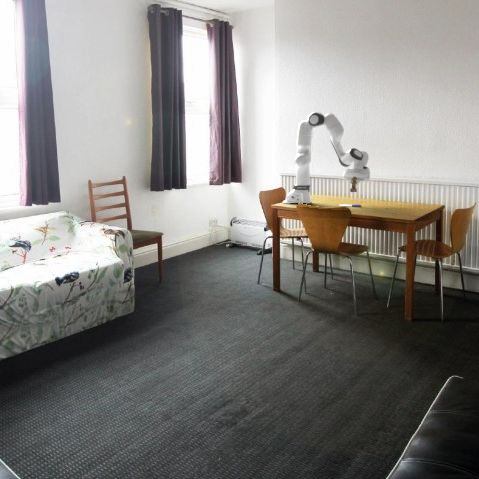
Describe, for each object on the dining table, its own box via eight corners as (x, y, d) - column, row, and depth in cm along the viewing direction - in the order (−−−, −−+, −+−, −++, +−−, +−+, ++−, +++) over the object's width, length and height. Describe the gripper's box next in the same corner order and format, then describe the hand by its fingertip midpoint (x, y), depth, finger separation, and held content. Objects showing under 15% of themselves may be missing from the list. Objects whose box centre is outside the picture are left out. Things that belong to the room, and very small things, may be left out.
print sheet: (338, 206, 433) (338, 205, 433) (340, 204, 441) (340, 204, 441) (351, 206, 430) (351, 206, 430) (352, 204, 439) (352, 204, 439)
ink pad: (351, 206, 430) (351, 205, 429) (352, 205, 437) (352, 203, 437) (359, 206, 428) (359, 205, 428) (360, 205, 436) (360, 203, 435)
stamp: (350, 191, 430) (350, 176, 428) (350, 191, 434) (351, 176, 432) (356, 192, 429) (356, 176, 426) (356, 191, 433) (357, 176, 431)
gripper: (344, 166, 439) (339, 180, 433) (370, 167, 428) (365, 181, 422) (346, 171, 443) (341, 185, 437) (372, 173, 433) (367, 187, 427)
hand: (353, 183), depth 430 cm, fingers closed on stamp, 3 cm apart
